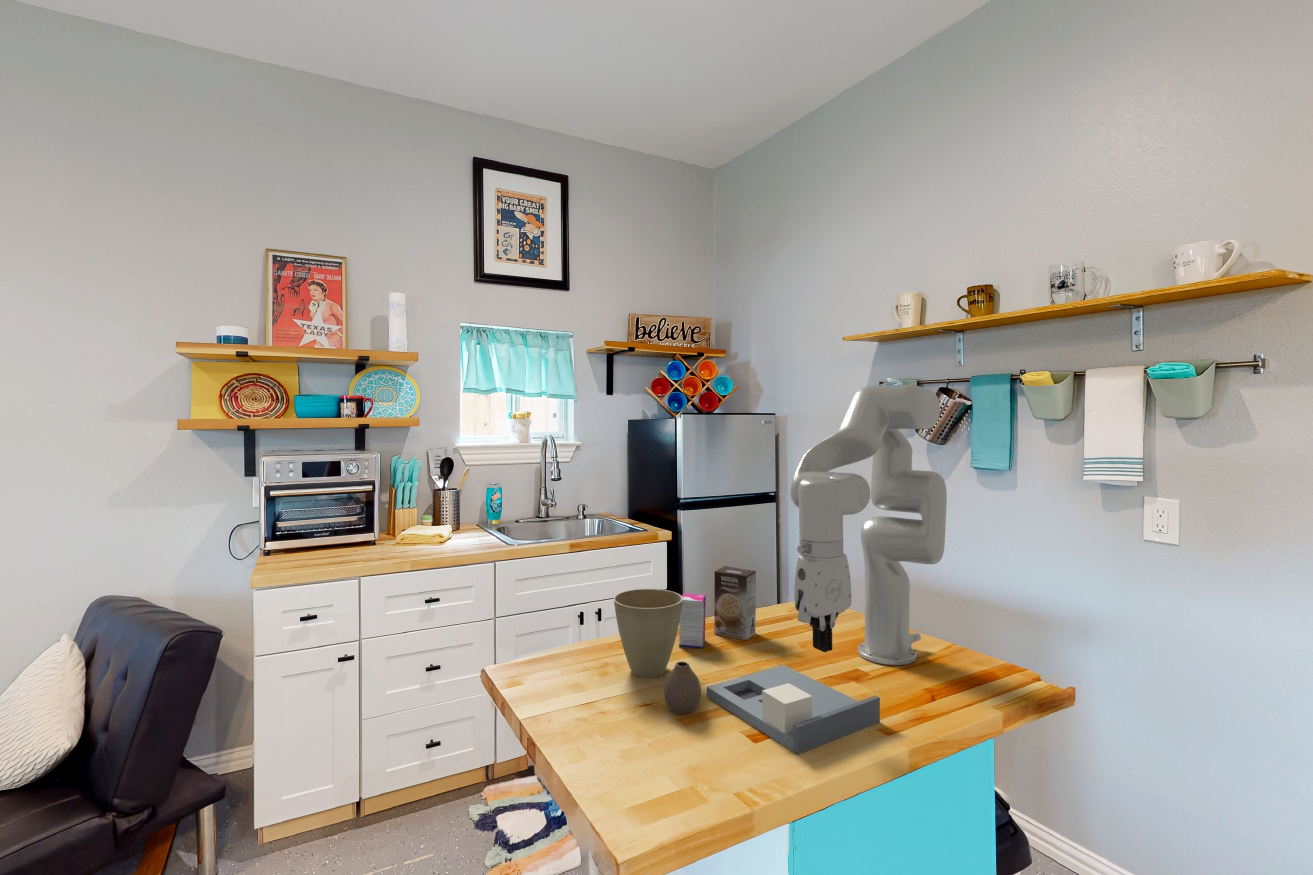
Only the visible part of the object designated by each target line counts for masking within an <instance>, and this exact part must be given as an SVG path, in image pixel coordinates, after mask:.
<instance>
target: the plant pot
mask: <svg viewBox="0 0 1313 875" xmlns="http://www.w3.org/2000/svg"><path fill="white" fill-rule="evenodd" d="M682 601H683V598H682V595H681V594H680V593H677V592H675V591H671V590H667V589H660V588H659V589H658V588H639V589H637V588H636V589H630V590H624V591H620V592H619V593H617V594H616V595H615V596H613V604H614V611H615V617H616V622H617V623H616V624H617V628H618V633H619V636H620V641H621V645H622V648H623V651H624V654H625V657H626V660H627V664H628V666H629V669H630V671H631V673H632V674H633V675H634V676H638V677H641V678H654V677H655V678H656V677H659V676H661V675H663V674H664V673H665V672H666V669H667V667H668V664H669V662H670V658H671V655H672V653H673V649H674V646H675V642H676V640H677V635H678V631H679V621H680V615H681V609H682Z"/></svg>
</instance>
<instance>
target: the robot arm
mask: <svg viewBox="0 0 1313 875" xmlns="http://www.w3.org/2000/svg"><path fill="white" fill-rule="evenodd" d="M936 394H937V393H935V392H934V391H933V390H931V389H929V388H925V387H923V386H918V385H914V384H884V385H883V384H881V385H868V386H864V387H862V388H860V389H859V390H857V391H856V392H855V393H854V395H853V397H852V398H851V401H850V403H849V405H848V407H847V410H846V412H845V415H844V418H843V419H842V421H841V424H840V426H839V429H838V431H836V432H834V433H832V434H830V435H828V436H827V437H826V438H824V439H822V440H821V441H819V442H817V444H815V445H813V446H812V447H811V448H810V449H808V451H806V452H805V454H804V455H803V456H802V457H801V460H800V462H799V464H798V466H797V468H796V470H795V472H794V474H793V478H792V481H791V483H790V484H791V485H790V499H791V501H792V503H793V504H794V505H795V507H797V508H798V519H799V520H798V523H799V524H798V527H799V528H798V530H799V531H798V535H799V537H798V538H799V539H798V540H799V545H797V547H796V551H797V553H798V554H799V556H797V560H796V562H797V563H796V567H795V574H794V575H795V576H794V592H793V593H794V596H793V597H794V606H795V610H796V611H797V612H798V614H797V621H798V622H801V623H802V624H803V623H804V624H809V626H810V627H811V628H812V647H813V648H814V649H816V650H817V651H818V650H819V651H820V652H823V653H827V652H830V651H833V628H835V625H836V620H837V618H838V617H839V615H840V614H843V613H844V612H845V611H846V610H848V609H849V608H850V607H851V606H852V596H853V595H852V582H851V579H852V578H851V573H850V571H851V570H850V566H849V561H848V557H847V554H846V553H844V516H847V515H849V516H850V515H855V514H856V515H857V514H858V513H860V512H862V511H864V510H865V509H866V508H867V506H868V504H869V502H870V499H871V503H872V505H873V506H874V507H875V508H877V509H880V510H882V511H889V512H896V513H897V512H901V513H911V514H919V515H920V517H921V519H918V518H917V519H916V518H915V519H914V518H913V519H912V518H905V517H897V516H894V517H893V516H883V515H881V516H873V517H870V518H868V519H866V520H865V521H864V522H863V524H862V526H861V529H860V542H861V547H862V553H863V559H864V560H863V562H864V641H863V642H861V643H860V644H859V645H857V653H858V654H859V656H861V658H863V659H865V660H867V661H870V662H873V663H876V664H881V665H888V666H904V665H909V664H912V663H914V662H916V660H917V658H918V657H917V655H918V654H917V652H916V650H915V649H914V648H912V645H913V643H915V642H919V641H921V639H922V637H921V636H922V635H921V634H920V633H919V632H912V633H910V600H911V599H910V598H911V597H910V586H911V585H910V577H909V576H908V573H907V571H906V570H905V568H904V567H903V565H902V564H901V562H905V563H913V564H914V563H915V564H923V565H936V564H938V563H940V562H941V560H942V559H943V556H944V552H945V544H946V523H947V503H948V502H947V495H948V492H947V486H946V481H945V479H944V477H943V476H942V475H941V474H940V473H938V472H935V471H932V470H918V469H917V470H914V469H913V467H912V465H913V448H912V445H911V443H910V442H909V440H908V438H907V437H906V436H905V434H904V433H903V432H901V430H902V429H903V430H929V429H932V428H933V427H934V426H935V425H936V424H937V423H938V421H939V418H940V414H941V404H940V399H939V398H938V396H937V395H936ZM871 457H872V464H871V465H872V466H871V480H870V481H871V482H870V484H869V482H868V481H867V479H866V478H865V477H863V476H862V475H860V474H856V473H852V472H851V473H850V472H835V471H833V470H834V469H835V470H836V469H837V468H841V467H844V466H848V465H851V464H855V463H858V462H861V461H863V460H864V461H865V460H866V459H867V460H868V459H869V458H871Z"/></svg>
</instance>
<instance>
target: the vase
mask: <svg viewBox="0 0 1313 875" xmlns="http://www.w3.org/2000/svg"><path fill="white" fill-rule="evenodd" d="M663 686H664V687H663V697H664V700H665V703H666V705H667V707H668V708H669V710H670V711H671V712H673V713H674V714H675V715H676V714H677V715H679V716H680V715H681V716H684V715H689V714H692V713H693V712H694V711H695V710H696V709H697V707H698V706H699V704H700V701H701V695H702V688H701V683H700V680H699V678H698V676H697V674H696V673H695V671H693V669H692V668H691V666H690V664H689V663H688V662H687V661H678V662H676V663H675V665H674V666H673V669H672V670H671V671H670V672H669V674H668V675H667V677H666V679H665V681H664V685H663Z"/></svg>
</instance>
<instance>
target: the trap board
mask: <svg viewBox="0 0 1313 875" xmlns="http://www.w3.org/2000/svg"><path fill="white" fill-rule="evenodd" d="M787 683H789V684H791V685H793V686H795V687H797V688H799V689H800V690H802V691H804V692H806V693H808V694H809V695H811V696H812V718H811V719H808V720H805V721H802V722H800V723H797V724H794V725H793V731H791V732H788V733H783V732H782V731H780V730H779V729H777V728H776V727H774V726H773V725H771V724H770V723H768V722H767V721H765V720H764V719H762V690H766V689H769V688H773V687H776V686H780V685H784V684H787ZM706 698H708V699H709V700H711V701H713V702H714V703H716V704H718V705H719V706H720V707H722V708H724V709H725V710H727V711H728V712H730V713H732V714H733V715H734V716H736V717H738V718H740V719H741V720H742V721H744V722H746V723H748V724H749V726H752V727H753V728H755V729H756V730H758V731H760V732H761V733H763V734H765V735H766V736H768V737H769V738H771V739H772V740H774V741H775V742H777V743H778V744H780V745H781V746H783V747H785V748H786V749H788V750H789V751H791V752H793V754H796V755H800V754H802V753H805V752H808V751H811V750H812V749H815V748H818V747H820V746H823V745H826V744H828V743H831V742H833V741H837V740H838V739H841V738H843V737H846V736H848V735H851V734H854V733H856V732H859V731H861V730H864V729H866V728H869V727H871V726H874V725H876V724H877V725H878V724H879V723H880V722H881V697H880V696H877V695H873V696H870V697H867V698H864V699H862V700H858V699H855V698H853V697H851V696H849V695H847V694H844V693H843V692H840V691H839V690H837V689H834V688H832V687H830V686H828V685H826V684H825V683H822V682H820V681H817V680H816V679H813V678H812V677H809V676H807V675H805V674H804V673H801V672H799V671H797V670H795V669H793V668H790V666H786V665H784V664H781V665H776V666H774V667H771V668H766V669H764V670H759V671H756V672H753V673H749V674H745V675H743V676H739V677H736V678H732V679H728V680H726V681H722V682H718V683H714V684H711V685H708V686H706Z"/></svg>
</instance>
